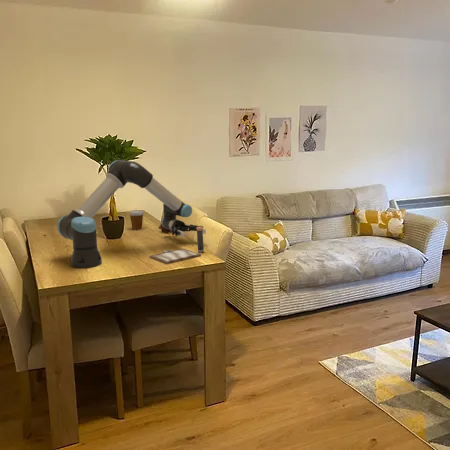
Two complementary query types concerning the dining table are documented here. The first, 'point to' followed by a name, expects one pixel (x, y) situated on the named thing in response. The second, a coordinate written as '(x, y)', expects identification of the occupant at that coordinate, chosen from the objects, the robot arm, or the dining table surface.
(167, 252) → the clipboard
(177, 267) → the dining table surface
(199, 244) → the marker
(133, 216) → the disposable coffee cup
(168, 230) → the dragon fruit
